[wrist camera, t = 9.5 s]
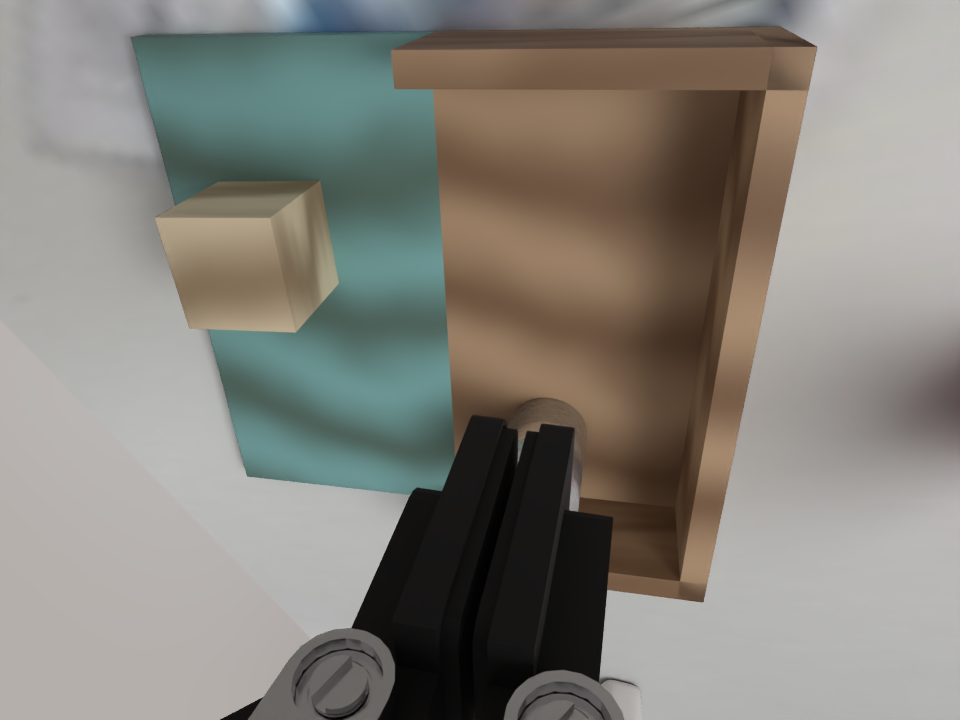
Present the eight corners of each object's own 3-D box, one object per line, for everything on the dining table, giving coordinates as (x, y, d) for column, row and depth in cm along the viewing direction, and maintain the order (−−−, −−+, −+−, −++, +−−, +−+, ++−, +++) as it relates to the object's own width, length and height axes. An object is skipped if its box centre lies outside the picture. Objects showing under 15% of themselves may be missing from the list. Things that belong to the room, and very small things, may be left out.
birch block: (218, 181, 31) (154, 217, 27) (320, 180, 30) (269, 218, 26) (244, 281, 34) (189, 328, 30) (338, 283, 33) (295, 332, 29)
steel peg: (499, 404, 35) (475, 476, 30) (576, 391, 34) (564, 464, 28) (521, 467, 36) (502, 546, 31) (595, 457, 35) (588, 537, 30)
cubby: (145, 34, 30) (44, 52, 25) (780, 26, 25) (817, 46, 20) (254, 465, 42) (202, 536, 37) (694, 513, 37) (703, 602, 32)
